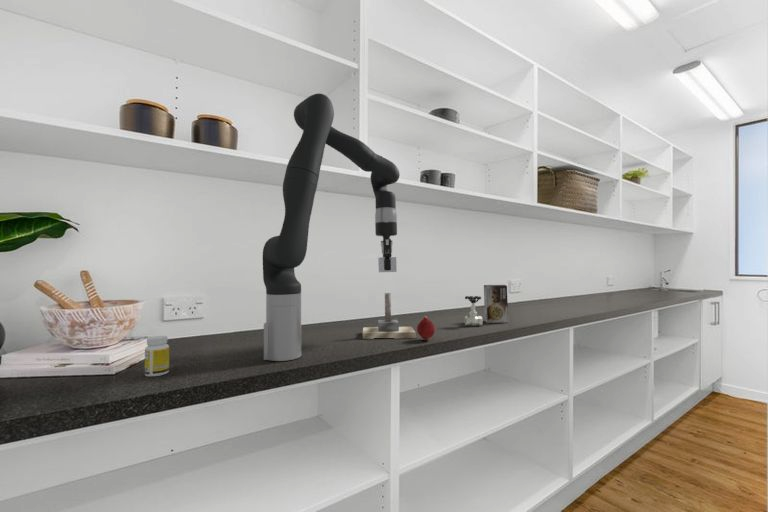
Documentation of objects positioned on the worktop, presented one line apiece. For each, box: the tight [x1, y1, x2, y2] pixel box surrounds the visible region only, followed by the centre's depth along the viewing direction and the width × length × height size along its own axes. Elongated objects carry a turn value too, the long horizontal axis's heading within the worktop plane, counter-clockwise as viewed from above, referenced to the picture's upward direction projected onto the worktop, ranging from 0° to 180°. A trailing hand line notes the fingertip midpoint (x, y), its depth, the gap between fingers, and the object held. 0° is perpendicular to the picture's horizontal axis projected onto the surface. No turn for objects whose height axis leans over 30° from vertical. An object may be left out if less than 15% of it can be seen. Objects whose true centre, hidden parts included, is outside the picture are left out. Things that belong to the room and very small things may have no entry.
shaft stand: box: [362, 292, 417, 340], centre depth 127 cm, size 18×12×15 cm, turn 93°
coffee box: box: [483, 284, 509, 324], centre depth 156 cm, size 9×6×16 cm
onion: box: [416, 315, 436, 341], centre depth 117 cm, size 6×6×8 cm
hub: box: [377, 256, 397, 273], centre depth 123 cm, size 6×6×5 cm
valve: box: [464, 295, 484, 327], centre depth 145 cm, size 7×7×12 cm
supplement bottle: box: [144, 335, 170, 378], centre depth 82 cm, size 5×5×8 cm
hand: (387, 270), depth 123 cm, fingers closed on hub, 6 cm apart
